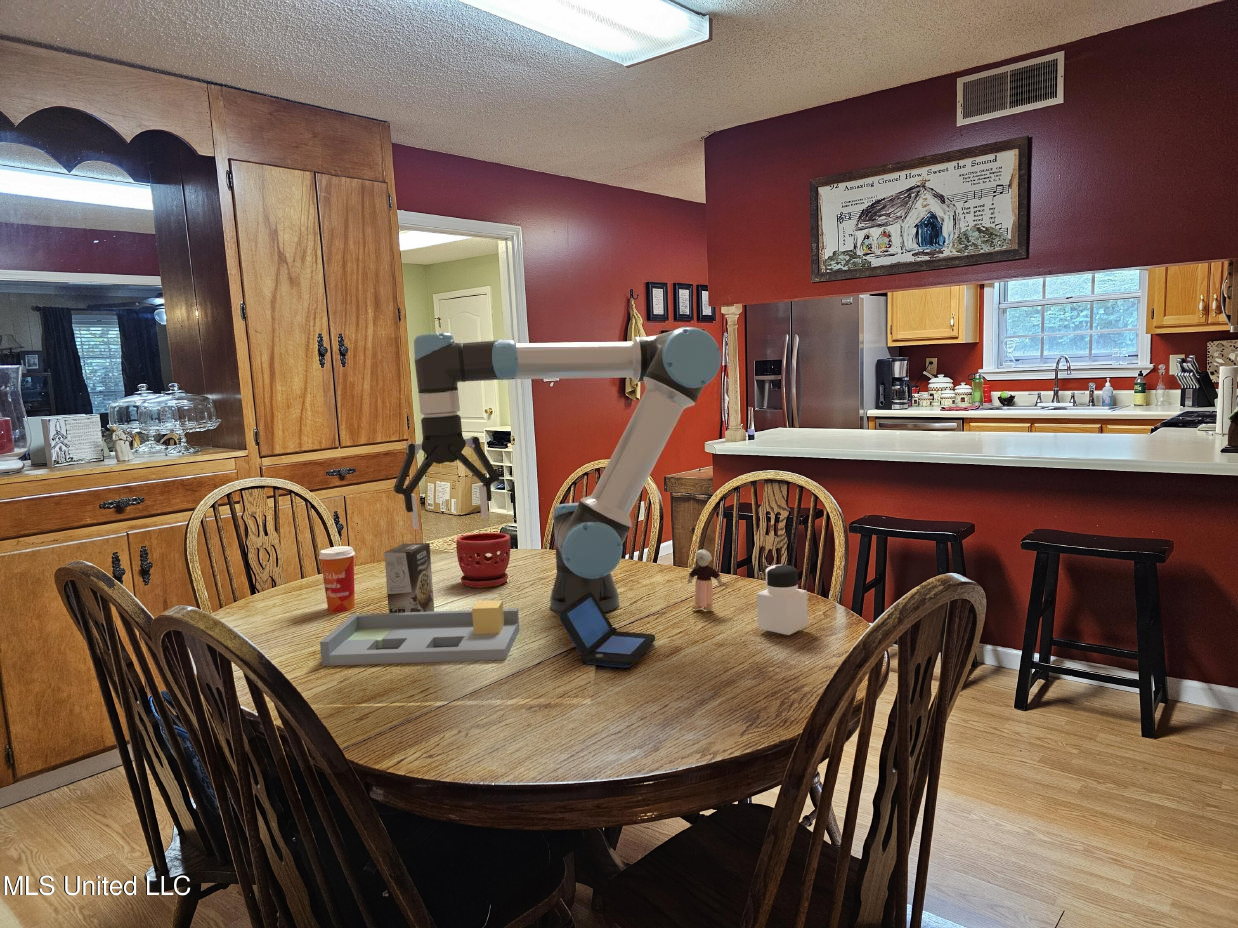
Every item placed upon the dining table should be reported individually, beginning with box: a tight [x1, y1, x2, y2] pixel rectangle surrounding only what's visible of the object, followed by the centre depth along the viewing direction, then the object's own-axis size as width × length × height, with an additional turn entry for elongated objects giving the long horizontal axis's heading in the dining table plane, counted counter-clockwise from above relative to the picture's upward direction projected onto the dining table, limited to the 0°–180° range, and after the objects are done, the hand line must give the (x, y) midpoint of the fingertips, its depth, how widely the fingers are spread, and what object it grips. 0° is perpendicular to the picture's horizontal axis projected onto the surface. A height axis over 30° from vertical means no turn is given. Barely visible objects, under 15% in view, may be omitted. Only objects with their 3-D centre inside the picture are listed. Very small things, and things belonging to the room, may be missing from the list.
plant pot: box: [455, 532, 511, 589], centre depth 198 cm, size 13×13×12 cm
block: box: [471, 599, 504, 634], centre depth 155 cm, size 5×5×5 cm
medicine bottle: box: [756, 564, 809, 636], centre depth 155 cm, size 7×7×12 cm
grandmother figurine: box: [686, 549, 724, 611], centre depth 169 cm, size 8×4×13 cm, turn 76°
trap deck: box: [319, 608, 520, 667], centre depth 153 cm, size 34×16×4 cm, turn 88°
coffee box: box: [383, 542, 435, 613], centre depth 169 cm, size 9×6×16 cm
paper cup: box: [318, 545, 356, 613], centre depth 180 cm, size 8×8×14 cm
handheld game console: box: [558, 592, 656, 668], centre depth 146 cm, size 16×13×9 cm
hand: (451, 523), depth 157 cm, fingers open, 13 cm apart
